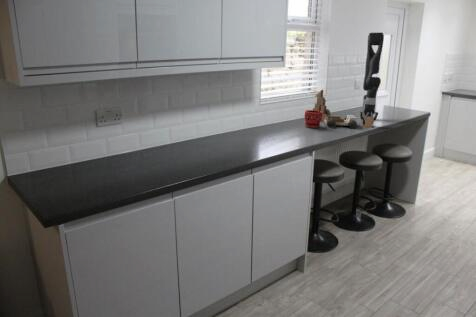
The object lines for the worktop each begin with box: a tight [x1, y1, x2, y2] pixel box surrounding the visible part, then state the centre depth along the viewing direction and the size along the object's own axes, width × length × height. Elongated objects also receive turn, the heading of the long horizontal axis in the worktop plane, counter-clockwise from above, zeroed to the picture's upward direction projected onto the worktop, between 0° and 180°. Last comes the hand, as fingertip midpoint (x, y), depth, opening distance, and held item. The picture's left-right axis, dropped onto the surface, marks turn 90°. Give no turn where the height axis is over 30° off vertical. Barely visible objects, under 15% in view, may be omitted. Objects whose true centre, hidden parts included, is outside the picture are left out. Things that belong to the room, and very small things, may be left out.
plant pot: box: [304, 109, 323, 129], centre depth 296 cm, size 13×13×12 cm
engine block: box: [363, 118, 374, 128], centre depth 305 cm, size 7×5×6 cm
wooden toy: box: [311, 89, 332, 123], centre depth 318 cm, size 16×7×25 cm, turn 41°
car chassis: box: [323, 114, 358, 129], centre depth 304 cm, size 17×22×8 cm
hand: (367, 124), depth 305 cm, fingers closed on engine block, 5 cm apart
